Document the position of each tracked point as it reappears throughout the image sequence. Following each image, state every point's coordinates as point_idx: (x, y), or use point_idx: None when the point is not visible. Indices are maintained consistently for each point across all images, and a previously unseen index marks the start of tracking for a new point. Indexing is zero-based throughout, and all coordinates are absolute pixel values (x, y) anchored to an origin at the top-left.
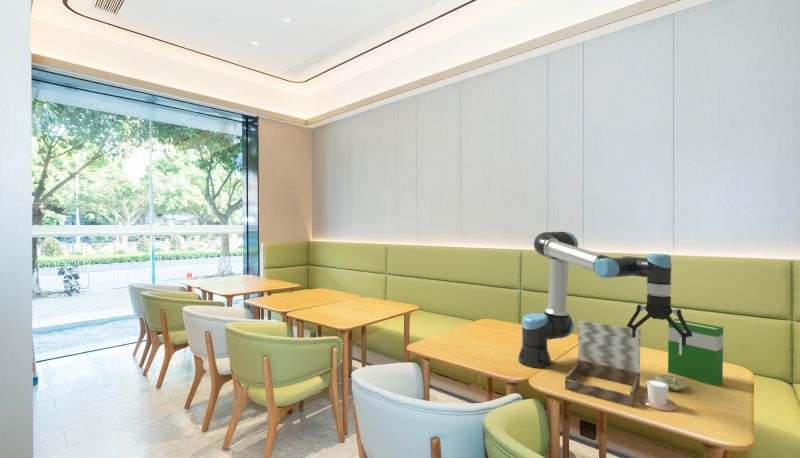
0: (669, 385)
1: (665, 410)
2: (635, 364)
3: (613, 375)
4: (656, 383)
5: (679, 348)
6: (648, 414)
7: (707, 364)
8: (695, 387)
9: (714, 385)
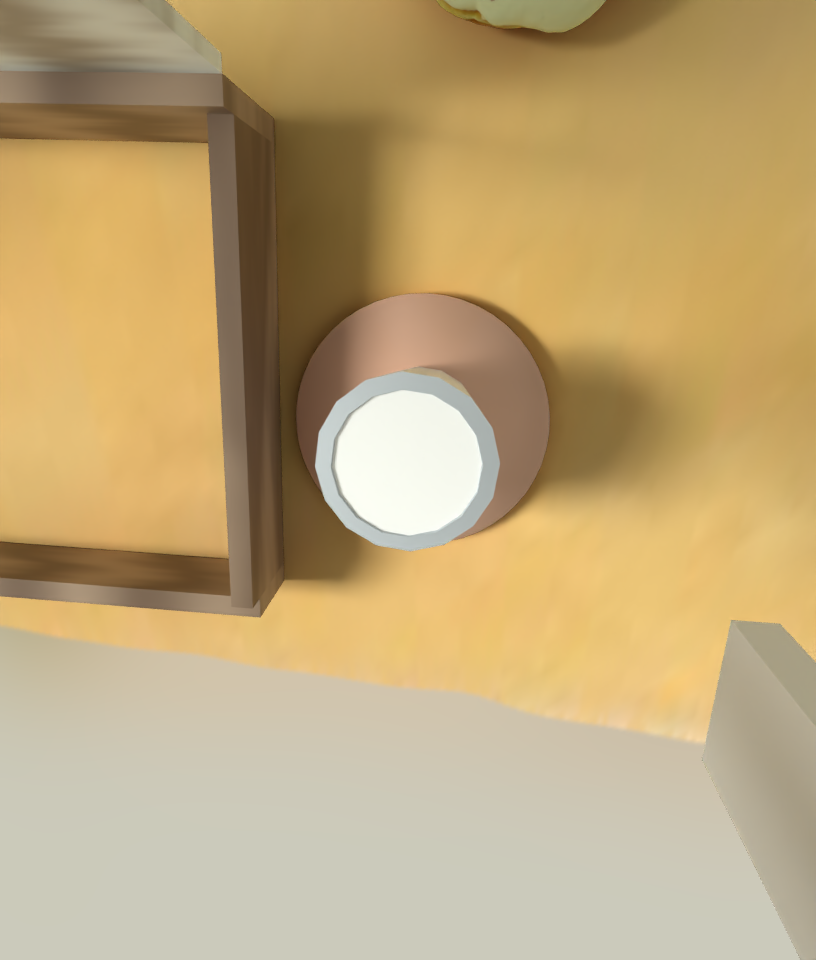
0: (516, 21)
1: (471, 530)
2: (131, 40)
3: (27, 125)
4: (396, 462)
5: (770, 882)
6: (377, 631)
7: None
8: None
9: None
